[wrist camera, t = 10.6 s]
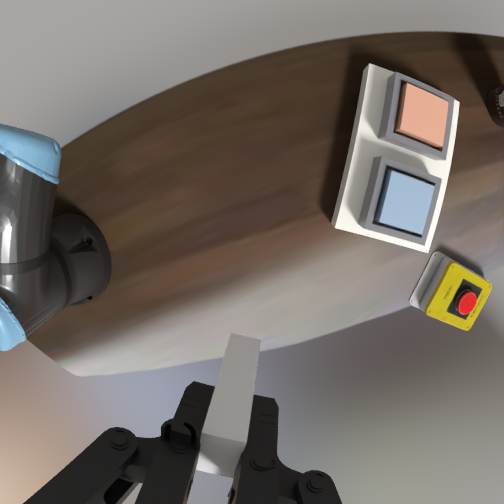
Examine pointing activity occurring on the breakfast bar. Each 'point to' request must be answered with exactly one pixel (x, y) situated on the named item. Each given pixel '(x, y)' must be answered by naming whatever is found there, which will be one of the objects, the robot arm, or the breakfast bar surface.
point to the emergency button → (450, 292)
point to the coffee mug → (496, 105)
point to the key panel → (390, 160)
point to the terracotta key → (421, 116)
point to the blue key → (404, 202)
